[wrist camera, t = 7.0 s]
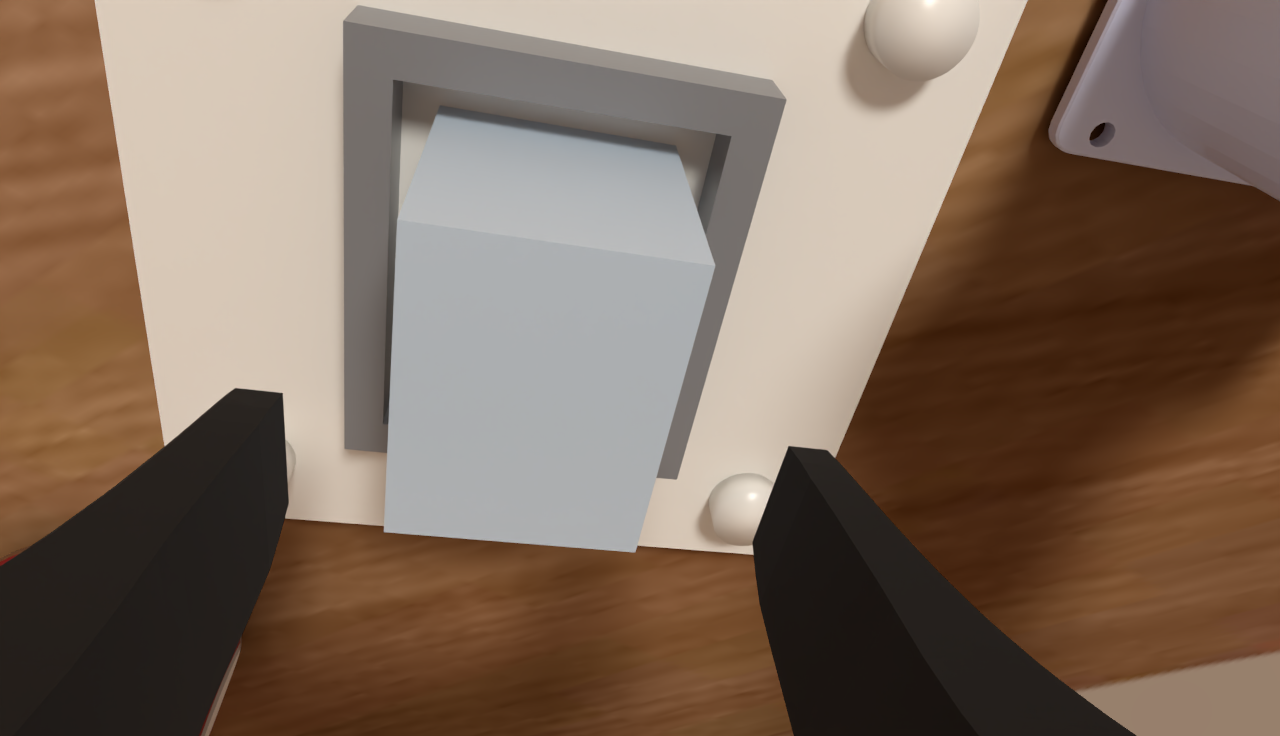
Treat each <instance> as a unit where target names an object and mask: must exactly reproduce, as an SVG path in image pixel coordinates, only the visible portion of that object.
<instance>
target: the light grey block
mask: <svg viewBox="0 0 1280 736" xmlns="http://www.w3.org/2000/svg"><path fill="white" fill-rule="evenodd" d="M714 269H715V263H714V260H713V257H712V254H711V251H710V248H709V245H708V242H707V239H706V236H705V232H704V229H703V226H702V223H701V220H700V217H699V214H698V211H697V208H696V205H695V202H694V199H693V196H692V193H691V190H690V187H689V184H688V181H687V178H686V175H685V172H684V169H683V165H682V162H681V159H680V156H679V153H678V150H677V147H676V145H670V144H664V143H658V142H652V141H646V140H641V139H635V138H629V137H623V136H617V135H611V134H605V133H599V132H594V131H588V130H582V129H576V128H570V127H564V126H558V125H552V124H547V123H541V122H535V121H529V120H523V119H517V118H511V117H505V116H500V115H494V114H488V113H482V112H476V111H470V110H464V109H458V108H453V107H447V106H441V105H440V106H439V109H438V112H437V114H436V117H435V120H434V122H433V125H432V128H431V130H430V133H429V136H428V138H427V141H426V144H425V147H424V149H423V152H422V155H421V157H420V160H419V163H418V165H417V168H416V171H415V173H414V176H413V179H412V181H411V184H410V187H409V189H408V192H407V195H406V197H405V200H404V203H403V205H402V208H401V211H400V213H399V216H398V219H397V235H396V258H395V282H394V305H393V329H392V352H391V376H390V399H389V422H388V446H387V469H386V493H385V516H384V532H388V533H401V534H413V535H426V536H438V537H450V538H463V539H475V540H487V541H500V542H512V543H525V544H537V545H549V546H562V547H574V548H586V549H599V550H611V551H624V552H636V548H637V545H638V541H639V538H640V534H641V530H642V527H643V523H644V520H645V516H646V513H647V509H648V505H649V502H650V498H651V495H652V491H653V488H654V484H655V480H656V477H657V473H658V470H659V466H660V462H661V459H662V455H663V452H664V448H665V445H666V441H667V437H668V434H669V430H670V427H671V423H672V420H673V416H674V412H675V409H676V405H677V402H678V398H679V395H680V391H681V387H682V384H683V380H684V377H685V373H686V369H687V366H688V362H689V359H690V355H691V352H692V348H693V344H694V341H695V337H696V334H697V330H698V327H699V323H700V319H701V316H702V312H703V309H704V305H705V301H706V298H707V294H708V291H709V287H710V284H711V280H712V276H713V273H714Z"/></svg>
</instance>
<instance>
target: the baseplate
mask: <svg viewBox="0 0 1280 736" xmlns="http://www.w3.org/2000/svg"><path fill="white" fill-rule="evenodd" d="M1026 3H1027V0H95V6H96V12H97V18H98V25H99V31H100V37H101V44H102V50H103V57H104V63H105V69H106V76H107V82H108V88H109V95H110V101H111V108H112V114H113V120H114V127H115V133H116V139H117V146H118V152H119V159H120V165H121V171H122V178H123V184H124V190H125V197H126V203H127V210H128V216H129V222H130V229H131V235H132V241H133V248H134V254H135V261H136V267H137V273H138V280H139V286H140V292H141V299H142V305H143V312H144V318H145V324H146V331H147V337H148V344H149V350H150V356H151V363H152V369H153V375H154V382H155V388H156V395H157V401H158V407H159V414H160V420H161V426H162V433H163V439H164V446H166V445H167V444H168V443H169V442H171V441H172V440H173V439H174V438H175V437H177V436H178V435H179V434H180V433H181V432H183V431H184V430H185V429H186V428H187V427H188V426H190V425H191V424H192V423H193V422H194V421H196V420H197V419H198V418H199V417H200V416H201V415H203V414H204V413H205V412H206V411H207V410H208V409H210V408H211V407H212V406H213V405H214V404H215V403H217V402H218V401H219V400H220V399H221V398H223V397H224V396H225V395H226V394H227V393H229V392H230V391H232V390H233V389H235V388H240V389H250V390H260V391H269V392H279V393H283V405H284V424H285V442H286V461H287V479H288V497H289V505H288V508H287V512H286V515H285V518H287V519H300V520H313V521H326V522H339V523H352V524H365V525H378V526H384V516H385V493H386V469H387V446H388V422H389V399H390V376H391V352H392V329H393V305H394V282H395V258H396V235H397V219H398V216H399V213H400V211H401V208H402V205H403V203H404V200H405V197H406V195H407V192H408V189H409V187H410V184H411V181H412V179H413V176H414V173H415V171H416V168H417V165H418V163H419V160H420V157H421V155H422V152H423V149H424V147H425V144H426V141H427V138H428V136H429V133H430V130H431V128H432V125H433V122H434V120H435V117H436V114H437V112H438V109H439V106H440V105H441V106H447V107H453V108H458V109H464V110H470V111H476V112H482V113H488V114H494V115H500V116H505V117H511V118H517V119H523V120H529V121H535V122H541V123H547V124H552V125H558V126H564V127H570V128H576V129H582V130H588V131H594V132H599V133H605V134H611V135H617V136H623V137H629V138H635V139H641V140H646V141H652V142H658V143H664V144H670V145H676V147H677V150H678V153H679V156H680V159H681V162H682V165H683V169H684V172H685V175H686V178H687V181H688V184H689V187H690V190H691V193H692V196H693V199H694V202H695V205H696V208H697V211H698V214H699V217H700V220H701V223H702V226H703V229H704V232H705V236H706V239H707V242H708V245H709V248H710V251H711V254H712V257H713V260H714V263H715V269H714V273H713V276H712V280H711V284H710V287H709V291H708V294H707V298H706V301H705V305H704V309H703V312H702V316H701V319H700V323H699V327H698V330H697V334H696V337H695V341H694V344H693V348H692V352H691V355H690V359H689V362H688V366H687V369H686V373H685V377H684V380H683V384H682V387H681V391H680V395H679V398H678V402H677V405H676V409H675V412H674V416H673V420H672V423H671V427H670V430H669V434H668V437H667V441H666V445H665V448H664V452H663V455H662V459H661V462H660V466H659V470H658V473H657V477H656V480H655V484H654V488H653V491H652V495H651V498H650V502H649V505H648V509H647V513H646V516H645V520H644V523H643V527H642V530H641V534H640V538H639V541H638V545H637V546H649V547H662V548H675V549H688V550H701V551H713V552H726V553H739V554H752V555H754V553H753V544H752V542H753V539H754V536H755V534H756V531H757V528H758V526H759V523H760V520H761V518H762V515H763V512H764V510H765V507H766V504H767V502H768V499H769V497H770V494H771V491H772V489H773V486H774V483H775V481H776V478H777V475H778V473H779V470H780V467H781V465H782V462H783V459H784V457H785V454H786V452H787V449H788V446H794V447H804V448H813V449H823V450H828V451H829V452H830V453H831V455H832V456H833V457H834V458H835V457H836V455H837V452H838V450H839V448H840V445H841V443H842V441H843V438H844V436H845V433H846V431H847V429H848V426H849V424H850V422H851V419H852V417H853V414H854V412H855V410H856V407H857V405H858V403H859V400H860V398H861V395H862V393H863V391H864V388H865V386H866V383H867V381H868V379H869V376H870V374H871V372H872V369H873V367H874V364H875V362H876V360H877V357H878V355H879V353H880V350H881V348H882V345H883V343H884V341H885V338H886V336H887V334H888V331H889V329H890V326H891V324H892V322H893V319H894V317H895V314H896V312H897V310H898V307H899V305H900V303H901V300H902V298H903V295H904V293H905V291H906V288H907V286H908V284H909V281H910V279H911V276H912V274H913V272H914V269H915V267H916V265H917V262H918V260H919V257H920V255H921V253H922V250H923V248H924V245H925V243H926V241H927V238H928V236H929V234H930V231H931V229H932V226H933V224H934V222H935V219H936V217H937V215H938V212H939V210H940V207H941V205H942V203H943V200H944V198H945V196H946V193H947V191H948V188H949V186H950V184H951V181H952V179H953V176H954V174H955V172H956V169H957V167H958V165H959V162H960V160H961V157H962V155H963V153H964V150H965V148H966V146H967V143H968V141H969V138H970V136H971V134H972V131H973V129H974V127H975V124H976V122H977V119H978V117H979V115H980V112H981V110H982V107H983V105H984V103H985V100H986V98H987V96H988V93H989V91H990V88H991V86H992V84H993V81H994V79H995V77H996V74H997V72H998V69H999V67H1000V65H1001V62H1002V60H1003V58H1004V55H1005V53H1006V50H1007V48H1008V46H1009V43H1010V41H1011V38H1012V36H1013V34H1014V31H1015V29H1016V27H1017V24H1018V22H1019V19H1020V17H1021V15H1022V12H1023V10H1024V8H1025V5H1026Z"/></svg>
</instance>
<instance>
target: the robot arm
mask: <svg viewBox="0 0 1280 736" xmlns="http://www.w3.org/2000/svg"><path fill="white" fill-rule="evenodd" d="M1101 123H1105V127H1104V131H1103V132H1102V133H1101V135H1100V136H1099V137H1097V138H1096V139H1094V140H1089V138H1090V134H1091V132H1092V131H1093V129H1094V128H1095V127H1096V126H1098V125H1099V124H1101ZM1048 132H1049V139H1050V140H1051V142H1052V143H1053V145H1054V146H1056V147H1057V148H1059V149H1060V150H1062V151H1064V152H1066V153H1069V154H1074V155H1080V156H1086V157H1091V158H1097V159H1103V160H1108V161H1114V162H1120V163H1125V164H1131V165H1137V166H1142V167H1148V168H1154V169H1159V170H1165V171H1171V172H1176V173H1182V174H1188V175H1193V176H1199V177H1205V178H1210V179H1216V180H1222V181H1227V182H1233V183H1239V184H1244V185H1250V186H1254V187H1256V188H1258V189H1259V190H1261V191H1263V192H1265V193H1266V194H1268V195H1270V196H1272V197H1273V198H1275V199H1277V200H1279V201H1280V0H1108V1H1107V3H1106V5H1105V8H1104V10H1103V12H1102V14H1101V16H1100V18H1099V20H1098V23H1097V25H1096V27H1095V29H1094V31H1093V33H1092V35H1091V37H1090V40H1089V42H1088V44H1087V46H1086V48H1085V50H1084V52H1083V54H1082V57H1081V59H1080V61H1079V63H1078V65H1077V67H1076V69H1075V71H1074V74H1073V76H1072V78H1071V80H1070V82H1069V84H1068V86H1067V88H1066V91H1065V93H1064V95H1063V97H1062V99H1061V101H1060V103H1059V105H1058V108H1057V110H1056V112H1055V114H1054V116H1053V118H1052V120H1051V123H1050V127H1049V130H1048ZM288 505H289V497H288V479H287V461H286V442H285V424H284V405H283V393H279V392H269V391H260V390H250V389H240V388H235V389H233V390H232V391H230V392H229V393H227V394H226V395H225V396H224V397H223V398H221V399H220V400H219V401H218V402H217V403H215V404H214V405H213V406H212V407H211V408H210V409H208V410H207V411H206V412H205V413H204V414H203V415H201V416H200V417H199V418H198V419H197V420H196V421H194V422H193V423H192V424H191V425H190V426H188V427H187V428H186V429H185V430H184V431H183V432H181V433H180V434H179V435H178V436H177V437H175V438H174V439H173V440H172V441H171V442H169V443H168V444H167V445H166V446H165V447H163V448H162V449H161V450H160V451H159V452H157V453H156V454H155V455H154V456H152V457H151V458H150V459H148V460H147V461H146V462H145V463H143V464H142V465H141V466H140V467H138V468H137V469H136V470H135V471H133V472H132V473H131V474H130V475H128V476H127V477H126V478H125V479H123V480H122V481H121V482H120V483H118V484H117V485H116V486H114V487H113V488H112V489H111V490H109V491H108V492H107V493H105V494H104V495H103V496H101V497H100V498H98V499H97V500H96V501H94V502H93V503H91V504H90V505H89V506H87V507H86V508H85V509H83V510H82V511H80V512H79V513H78V514H76V515H75V516H73V517H72V518H71V519H69V520H68V521H66V522H65V523H64V524H62V525H61V526H60V527H58V528H57V529H55V530H54V531H53V532H51V533H50V534H48V535H47V536H45V537H44V538H42V539H41V540H39V541H38V542H36V543H35V544H33V545H32V546H30V547H29V548H27V549H26V550H24V551H23V552H21V553H20V554H18V555H17V556H15V557H14V558H12V559H10V560H9V561H7V562H6V563H4V564H3V565H1V566H0V736H199V734H200V732H201V729H202V726H203V724H204V721H205V719H206V716H207V714H208V712H209V709H210V707H211V705H212V702H213V700H214V698H215V696H216V693H217V691H218V689H219V686H220V684H221V682H222V680H223V677H224V675H225V673H226V670H227V668H228V666H229V663H230V661H231V659H232V657H233V654H234V652H235V650H236V647H237V645H238V643H239V640H240V638H241V636H242V634H243V631H244V629H245V627H246V624H247V622H248V620H249V617H250V615H251V613H252V610H253V608H254V606H255V603H256V601H257V599H258V596H259V594H260V592H261V589H262V587H263V585H264V582H265V580H266V577H267V575H268V573H269V570H270V567H271V564H272V561H273V557H274V554H275V551H276V547H277V544H278V541H279V537H280V533H281V530H282V526H283V523H284V519H285V515H286V512H287V508H288ZM752 544H753V553H754V563H755V572H756V580H757V587H758V595H759V602H760V607H761V611H762V615H763V619H764V623H765V627H766V631H767V635H768V639H769V643H770V647H771V651H772V655H773V658H774V662H775V666H776V670H777V673H778V677H779V681H780V685H781V689H782V692H783V696H784V700H785V704H786V707H787V711H788V715H789V719H790V723H791V726H792V730H793V734H794V736H1136V735H1135V734H1133V733H1132V732H1130V731H1129V730H1128V729H1126V728H1125V727H1123V726H1122V725H1120V724H1119V723H1117V722H1116V721H1115V720H1113V719H1112V718H1110V717H1109V716H1107V715H1106V714H1105V713H1103V712H1102V711H1101V710H1099V709H1098V708H1097V707H1095V706H1094V705H1093V704H1091V703H1090V702H1088V701H1087V700H1086V699H1085V698H1083V697H1082V696H1081V695H1079V694H1078V693H1077V692H1075V691H1074V690H1073V689H1071V688H1070V687H1069V686H1067V685H1066V684H1064V683H1063V682H1062V681H1060V680H1059V679H1058V678H1057V677H1055V676H1054V675H1053V674H1052V673H1050V672H1049V671H1048V670H1047V669H1045V668H1044V667H1043V666H1042V665H1040V664H1039V663H1038V662H1037V661H1035V660H1034V659H1033V658H1032V657H1031V656H1029V655H1028V654H1027V653H1026V652H1025V651H1024V650H1022V649H1021V648H1020V647H1019V646H1018V645H1017V644H1015V643H1014V642H1013V641H1012V640H1011V639H1010V638H1008V637H1007V636H1006V635H1005V634H1004V633H1003V632H1001V631H1000V630H999V629H998V628H997V627H996V626H994V625H993V624H992V623H991V622H990V621H989V620H988V619H987V618H986V617H985V616H984V615H982V614H981V613H980V612H979V611H978V610H977V609H976V608H975V607H974V606H973V605H972V604H971V603H970V602H969V601H968V600H967V599H966V598H965V597H964V596H963V595H962V594H961V593H959V592H958V591H957V590H956V589H955V588H954V587H953V586H952V585H951V584H950V583H949V582H948V581H947V580H946V579H945V578H944V577H943V576H942V575H941V574H940V573H939V572H938V571H937V570H936V569H935V568H934V567H933V566H932V565H931V563H930V562H929V561H928V560H927V559H926V558H925V557H924V556H923V555H922V554H921V553H920V552H919V551H918V550H917V549H916V548H915V547H914V546H913V545H912V543H911V542H910V541H909V540H908V539H907V538H906V537H905V536H904V535H903V534H902V533H901V531H900V530H899V529H898V528H897V527H896V526H895V525H894V524H893V523H892V522H891V520H890V519H889V518H888V517H887V516H886V515H885V514H884V513H883V511H882V510H881V509H880V508H879V507H878V506H877V505H876V504H875V502H874V501H873V500H872V499H871V498H870V497H869V496H868V494H867V493H866V492H865V491H864V490H863V489H862V488H861V487H860V485H859V484H858V483H857V482H856V481H855V480H854V479H853V477H852V476H851V475H850V474H849V473H848V472H847V471H846V470H845V469H844V467H843V466H842V465H841V464H840V463H839V462H838V461H837V460H836V459H835V458H834V457H833V456H832V455H831V453H830V452H829V451H828V450H823V449H813V448H804V447H794V446H788V449H787V452H786V454H785V457H784V459H783V462H782V465H781V467H780V470H779V473H778V475H777V478H776V481H775V483H774V486H773V489H772V491H771V494H770V497H769V499H768V502H767V504H766V507H765V510H764V512H763V515H762V518H761V520H760V523H759V526H758V528H757V531H756V534H755V536H754V539H753V542H752Z"/></svg>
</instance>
